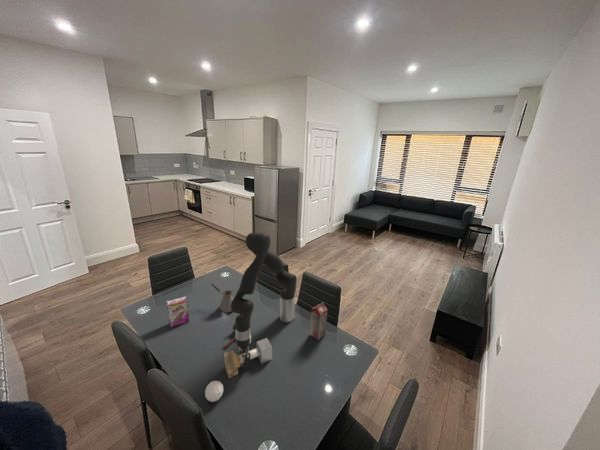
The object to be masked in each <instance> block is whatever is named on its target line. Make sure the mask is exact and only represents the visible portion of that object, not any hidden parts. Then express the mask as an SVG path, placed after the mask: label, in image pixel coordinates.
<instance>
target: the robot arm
mask: <svg viewBox="0 0 600 450" xmlns="http://www.w3.org/2000/svg"><path fill="white" fill-rule="evenodd" d="M245 243H246V244H245V245H246V247H247V249H248V250H249V251H250V252H251V253H252V254H253V255H255V258H254V259H253V261H252V262H251V263H250V264H249V266H248V267H247V268H246V269H245V271H244V273H243V275H242V277H241V282H240V285H239V288H238V290H237V292H236V294H235V296H233V298H234V299H233V301H232V303H231V310H232V311H231V312H233V313H234V314H238V315H237V316H236V317H235V319H234V324H235V327H236V329H235V331H234V334H235V336H234V337H235V340H234V341H235V345H236V346H237V348H238V351H239V355H240V354H242V357H243V361H244V362H243V367H244V368H245V367H249V363H250V362H251V359H250V353H249V351H250V350H249V349H250V348H249V346H250V345H251V342H252V329H251V328H252V327H251V317H252V314H253V312H254V311H253V310H254V303H253V301H252V300H250V299H247V298H244V297H245V295H253V294H254V292H255V287H256V284H257V280H258V277H259V273H260V270H261V268H262V266H263V265H264V266H265V268H266V269H267V270H268V271H269V272H270V274H272V276H274V278H275V281H276V282H277V283H278V284H279V286H281V287H284V288H282V289H281V290H280V293H279V320H280V321H281V322H283V323H291V322H292V321H294V319H296V317H295V316H296V306H295V295H296V289H297V281H298V280H297V276H296V275H295V274H293V273H290V272H289V271H286V270H285V269H284V268H283V267H284V264H283V261H282V259H281V258H280V256H279V255H278V254H277V253H276V252H274V251H273V250H272V249H270V246H271V238H270V236H269V235H268V234H267V233H262V232H261V233H260V232H250V233H249V234H247V236H246V238H245ZM245 353H246V354H245ZM243 354H244V355H243Z"/></svg>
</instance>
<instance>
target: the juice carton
mask: <svg viewBox="0 0 600 450" xmlns="http://www.w3.org/2000/svg"><path fill="white" fill-rule="evenodd" d="M310 316H311V317H310V327H309V329H310V331H309V335H310V336H311V337H313V338H314V339H316V340H317V341H319V340H320V339H322V338H323V337H324V336H326V329H327V318H328V308H327V306H326V305H325V304H324V301H323V302H321V303H318V304H317V305H315V306H314V307H312V308H311V315H310Z"/></svg>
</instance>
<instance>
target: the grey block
mask: <svg viewBox="0 0 600 450" xmlns="http://www.w3.org/2000/svg"><path fill="white" fill-rule="evenodd" d="M258 347H259V349H260V351H261V355H260V356H258V359H259V361H260V364H261V365H262V364H264V363H267V362H269V361H272V360H273V346H272V343H271V342H270V341H269V339H268V337H265V338H262V339H259V340H258V341H256V348H258Z"/></svg>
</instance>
